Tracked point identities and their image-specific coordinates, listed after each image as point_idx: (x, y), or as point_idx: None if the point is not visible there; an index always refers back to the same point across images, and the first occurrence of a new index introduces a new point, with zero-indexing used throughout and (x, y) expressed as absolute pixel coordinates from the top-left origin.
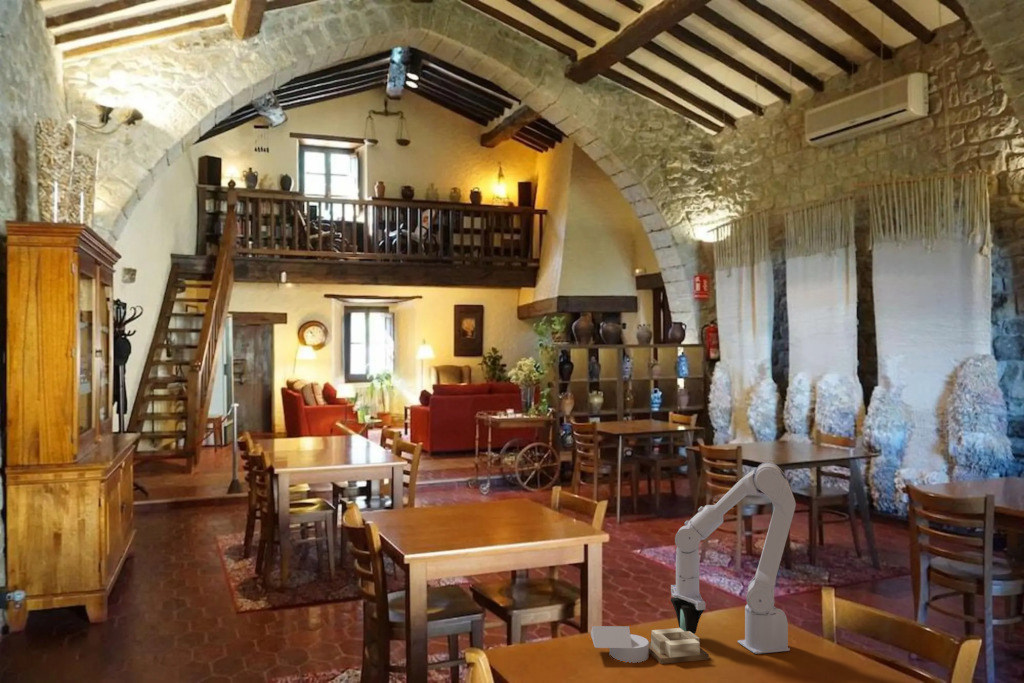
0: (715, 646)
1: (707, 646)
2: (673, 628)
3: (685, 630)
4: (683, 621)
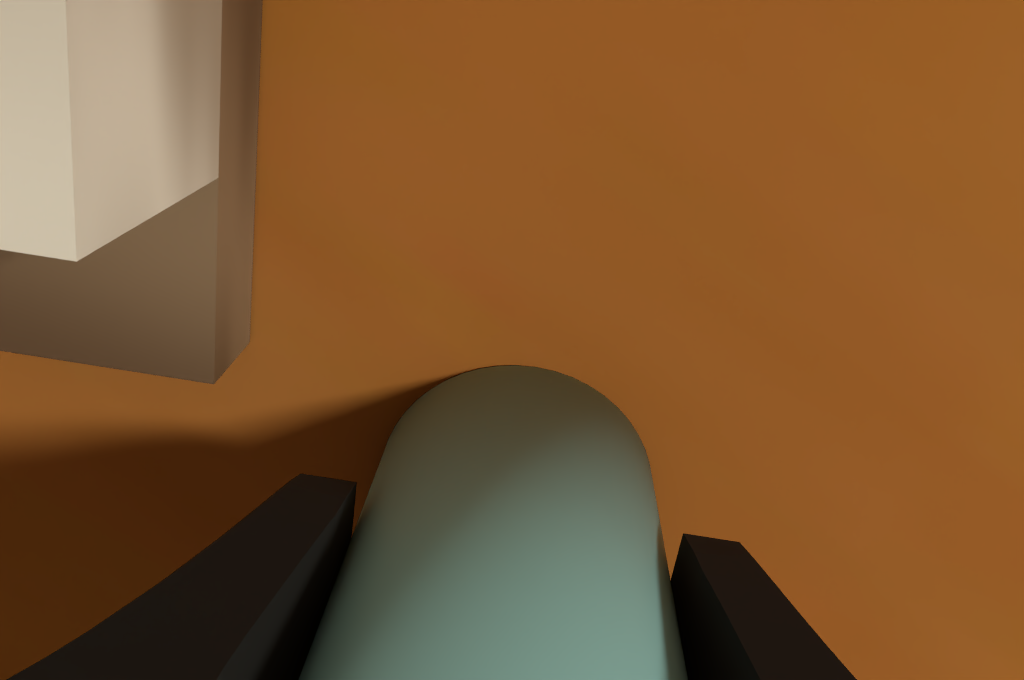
0: (35, 659)
1: (57, 558)
2: (60, 5)
3: (391, 501)
4: (404, 624)
